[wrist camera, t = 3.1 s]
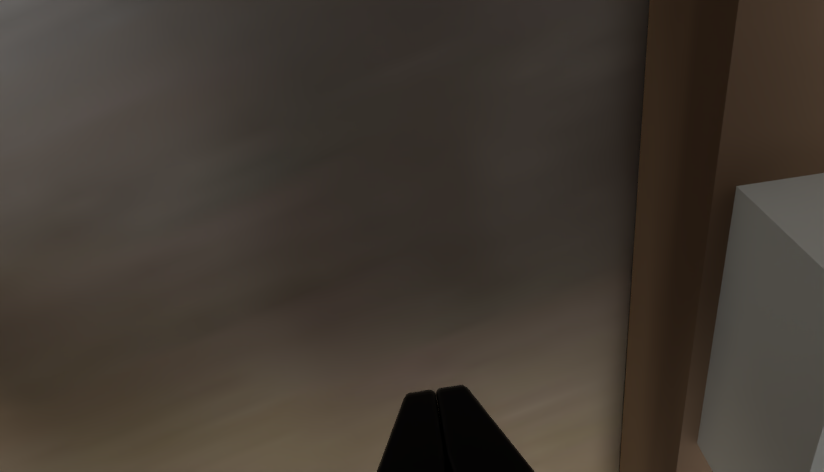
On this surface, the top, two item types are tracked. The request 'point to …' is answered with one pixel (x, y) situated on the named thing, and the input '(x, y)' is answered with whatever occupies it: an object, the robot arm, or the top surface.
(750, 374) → the tile
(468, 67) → the top surface
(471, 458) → the robot arm
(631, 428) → the flat brown platform
